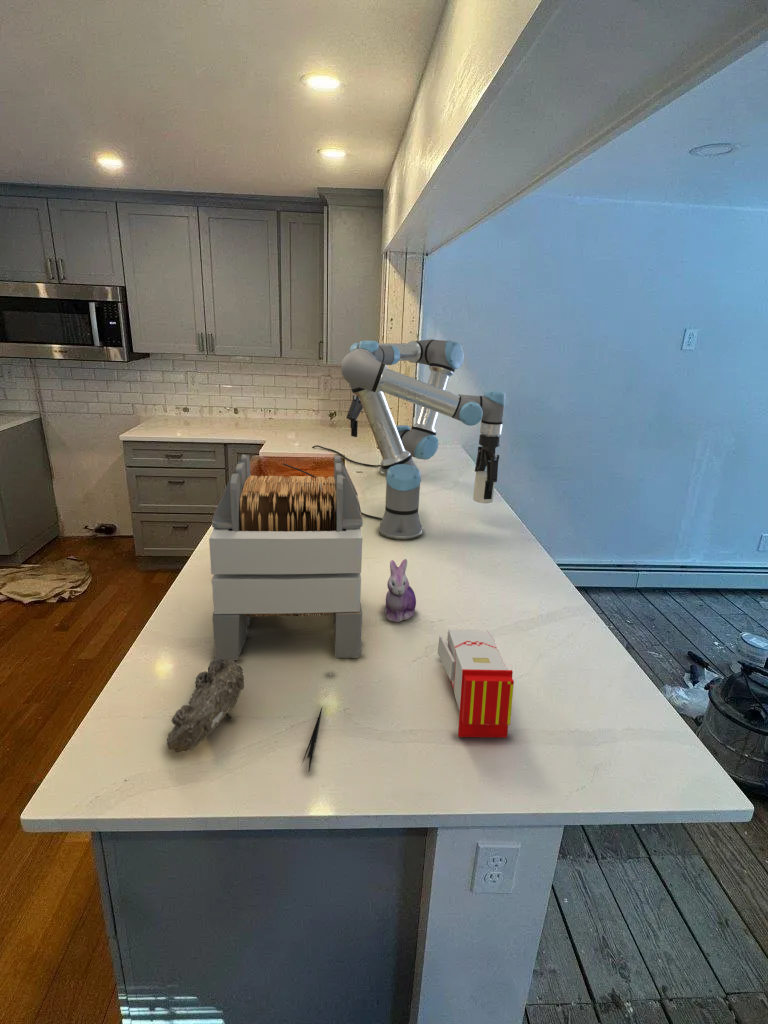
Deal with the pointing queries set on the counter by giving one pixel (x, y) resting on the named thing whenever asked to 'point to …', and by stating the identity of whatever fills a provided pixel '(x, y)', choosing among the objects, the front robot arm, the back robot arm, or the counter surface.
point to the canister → (481, 488)
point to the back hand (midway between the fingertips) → (365, 434)
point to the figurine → (399, 594)
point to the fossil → (206, 705)
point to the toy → (478, 682)
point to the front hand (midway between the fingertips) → (483, 495)
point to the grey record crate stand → (286, 555)
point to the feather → (313, 740)
